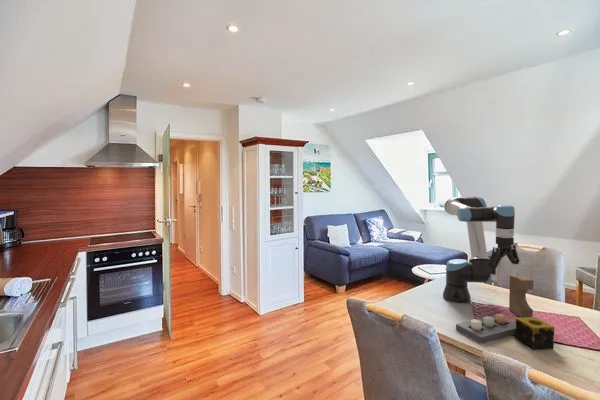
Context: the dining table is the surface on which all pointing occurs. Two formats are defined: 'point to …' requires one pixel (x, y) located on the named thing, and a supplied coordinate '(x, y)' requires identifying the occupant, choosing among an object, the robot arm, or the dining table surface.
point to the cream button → (476, 325)
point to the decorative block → (520, 295)
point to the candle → (534, 333)
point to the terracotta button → (501, 319)
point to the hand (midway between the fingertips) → (503, 278)
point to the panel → (487, 330)
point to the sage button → (488, 322)
